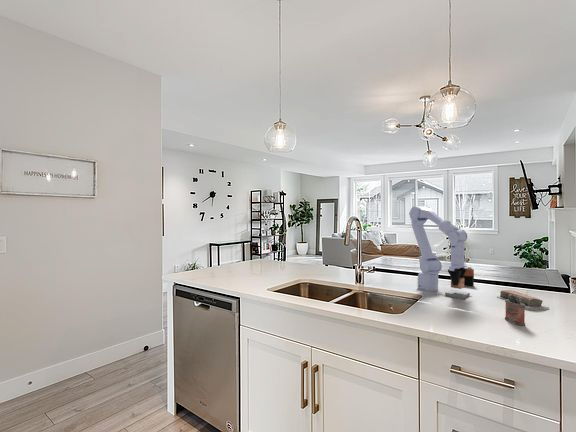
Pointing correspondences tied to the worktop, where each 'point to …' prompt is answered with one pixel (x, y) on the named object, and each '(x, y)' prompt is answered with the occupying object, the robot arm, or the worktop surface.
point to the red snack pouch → (515, 310)
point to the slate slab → (457, 294)
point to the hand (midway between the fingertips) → (457, 284)
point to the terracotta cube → (460, 284)
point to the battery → (469, 277)
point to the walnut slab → (458, 298)
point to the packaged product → (524, 300)
